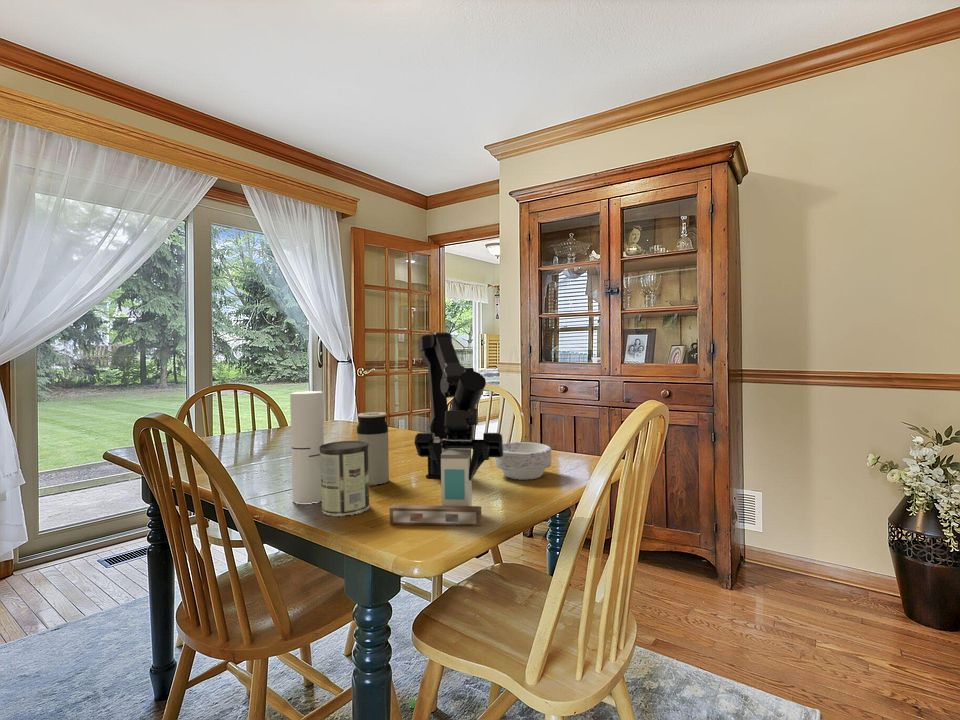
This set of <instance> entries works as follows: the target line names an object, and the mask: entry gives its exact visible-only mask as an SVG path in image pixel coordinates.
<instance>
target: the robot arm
mask: <svg viewBox="0 0 960 720" xmlns="http://www.w3.org/2000/svg"><path fill="white" fill-rule="evenodd" d="M417 341H418V342H417V343H418V345H417V347H418V351H419V352H420V359H421V360H422V361H423V363H424V364H425V365H426V367H427V375H428V376H427V377H428V390H429V398H430V399H429V400H430V401H429V402H430V411H431V413H430V414H431V419H430V421H429V423H428V425H427V427H426V432H418V433H417V434H416V435H415V436H414V445H415V449H416V452H417V455H418V456H419V457H421V458H427V473H426V475H425V478H429V479H430V478H431V479H441V454H442V453H443V451H444V450H445V449H471V450H472V453H471V464H470V469H469V481H471V480H473V478H474V476H475V475H476V473H477V471H478V470H479V468H480V467H481V465H482V464H483V463H484V462H486V461H489V460H490V458H495V457H502V456H503V444H504V440H503V434H501V432H484V433H483V437H482V438H483V439H474V434H475V433H474V432H475V426H478V424H479V410H478V408H477V405H478V404H479V403H480V400H481V398H482V395H483V392H484V390H485V387H486V385H487V382H486V381H487V380H486V378H485V377H484V376H483V375H482V374H481V373H479V372H477V371H475V369H474V367H465V366H463V365H461V363H460V360H459V357H458V354H457V352H456V350H455V347H454V344H453V337H452V334H451V333H450V332H446V331H445V332H443V331H441V332H434V333H430V334H423V335H422V336H420V337H419V338H418V340H417ZM448 398H452V399H451V406H450V410H449V409H448Z"/></svg>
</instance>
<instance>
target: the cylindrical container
mask: <svg viewBox="0 0 960 720" xmlns="http://www.w3.org/2000/svg"><path fill="white" fill-rule="evenodd" d="M289 398H290V399H289V401H290V405H289V406H290V440H291V441H290V442H291V444H290V445H291V449H290V450H291V482H292V483H291V484H292V485H291V488H292V495H291V496H292V502H293V501H294V502H298V503H312V502H318V501H321V500H322V496H321V464H320V449H319V447H320V446H321V445H324V444H325V439H324V438H325V435H324V433H325V432H324V431H325V428H324V392H323V391H318V390H315V391H314V390H312V391H311V390H310V391H295V392H290V393H289Z"/></svg>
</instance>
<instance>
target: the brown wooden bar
mask: <svg viewBox="0 0 960 720" xmlns="http://www.w3.org/2000/svg"><path fill="white" fill-rule="evenodd" d="M389 525H406V526H407V525H410V526H412V525H413V526H417V525H418V526H419V525H420V526H424V525H425V526H456V525H457V526H461V527H463V526H466V527H469V526H471V527H481V526H482V506H478V505H477V506H476V505H472V506H442V505H419V504H418V505H417V504H416V505H415V504H411V505H410V504H391V506H390V507H389Z"/></svg>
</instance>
